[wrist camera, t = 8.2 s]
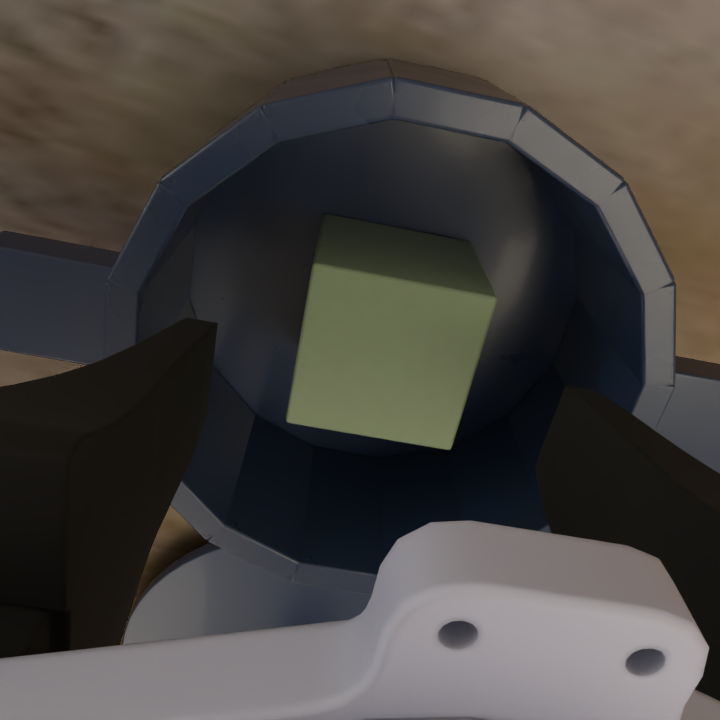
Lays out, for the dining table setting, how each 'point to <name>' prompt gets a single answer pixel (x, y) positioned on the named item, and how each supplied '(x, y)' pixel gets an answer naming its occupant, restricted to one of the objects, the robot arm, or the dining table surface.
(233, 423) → the pot
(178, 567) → the lid
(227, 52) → the dining table surface
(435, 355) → the block
